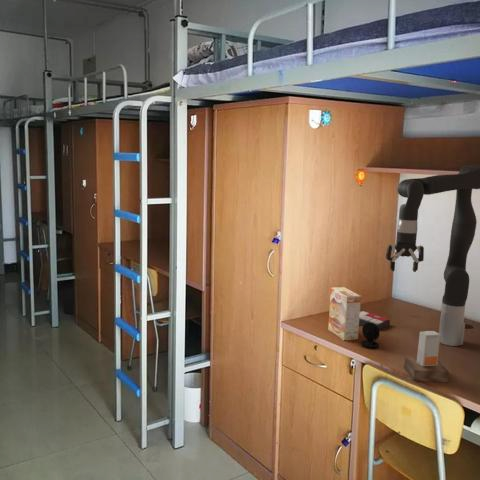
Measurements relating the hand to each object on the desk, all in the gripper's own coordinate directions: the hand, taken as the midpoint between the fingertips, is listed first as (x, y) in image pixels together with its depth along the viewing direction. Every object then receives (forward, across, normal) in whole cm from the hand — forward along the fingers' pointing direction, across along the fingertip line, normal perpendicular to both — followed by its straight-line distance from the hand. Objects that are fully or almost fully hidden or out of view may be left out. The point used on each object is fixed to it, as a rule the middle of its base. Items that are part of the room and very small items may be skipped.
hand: (403, 271), depth 218 cm
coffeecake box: (+33, +19, -17) cm, 42 cm away
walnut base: (+33, -4, +24) cm, 41 cm away
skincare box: (+29, -4, +24) cm, 38 cm away
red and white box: (+34, +4, -33) cm, 47 cm away
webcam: (+33, +10, -4) cm, 35 cm away
